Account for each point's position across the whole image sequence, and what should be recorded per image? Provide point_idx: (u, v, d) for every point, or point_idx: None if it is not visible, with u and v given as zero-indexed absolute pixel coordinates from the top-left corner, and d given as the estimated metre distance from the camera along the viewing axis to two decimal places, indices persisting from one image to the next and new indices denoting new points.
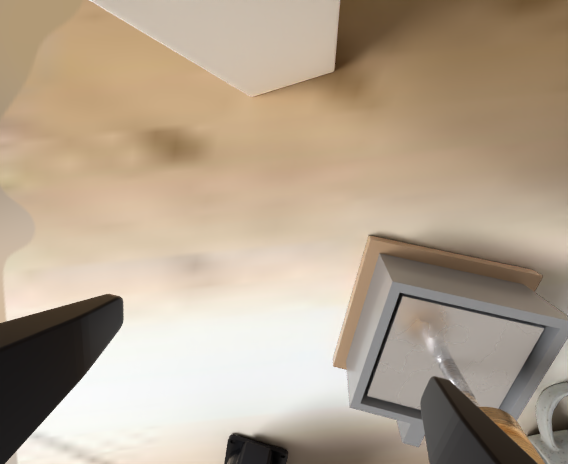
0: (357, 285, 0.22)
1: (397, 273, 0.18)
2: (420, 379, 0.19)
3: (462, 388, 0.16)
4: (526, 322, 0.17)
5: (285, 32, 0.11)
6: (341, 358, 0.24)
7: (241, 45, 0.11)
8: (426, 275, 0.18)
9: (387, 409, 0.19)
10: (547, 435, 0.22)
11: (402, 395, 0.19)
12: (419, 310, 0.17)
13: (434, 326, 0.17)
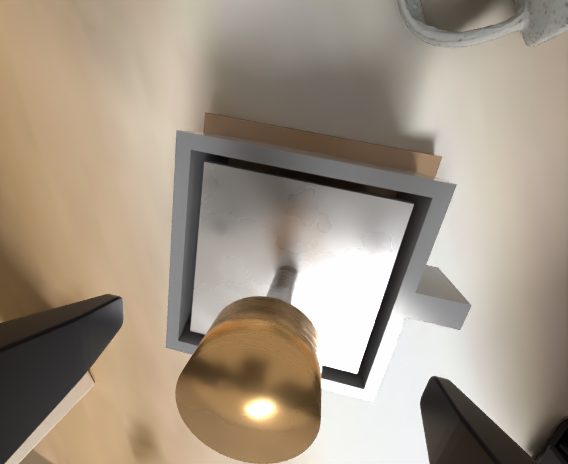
0: None
1: None
2: (317, 308, 0.12)
3: None
4: None
5: None
6: None
7: None
8: None
9: (375, 354, 0.12)
10: (495, 34, 0.11)
11: (351, 330, 0.12)
12: (205, 313, 0.13)
13: (225, 295, 0.13)
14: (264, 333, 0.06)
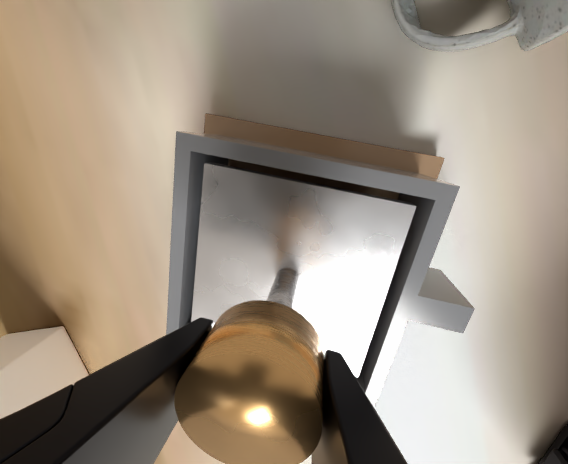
0: None
1: None
2: (318, 311, 0.12)
3: None
4: None
5: None
6: None
7: None
8: None
9: (377, 358, 0.12)
10: (489, 39, 0.11)
11: (353, 333, 0.12)
12: (205, 315, 0.13)
13: (225, 298, 0.13)
14: (265, 339, 0.06)
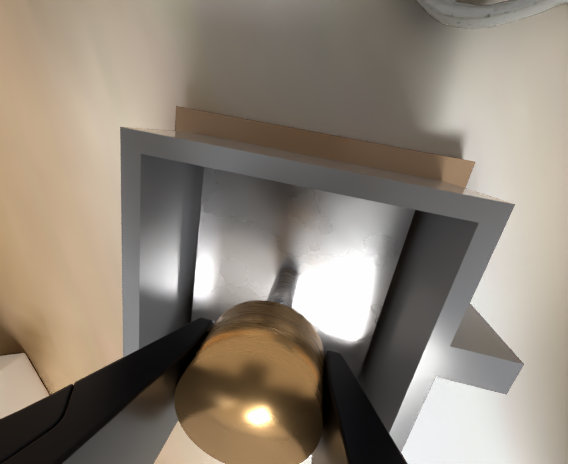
0: None
1: None
2: (318, 311, 0.12)
3: None
4: None
5: None
6: None
7: None
8: None
9: (391, 422, 0.09)
10: (537, 7, 0.08)
11: (353, 333, 0.12)
12: (205, 315, 0.13)
13: (225, 298, 0.13)
14: (264, 339, 0.06)
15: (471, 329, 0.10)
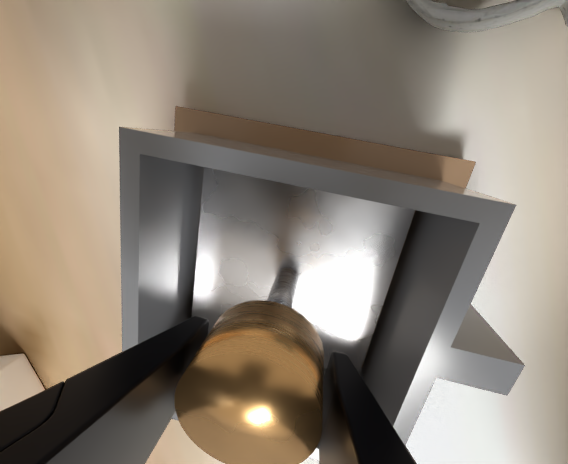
0: None
1: None
2: (318, 311, 0.12)
3: None
4: None
5: None
6: None
7: None
8: None
9: (392, 424, 0.09)
10: (527, 11, 0.08)
11: (353, 333, 0.12)
12: (205, 315, 0.13)
13: (225, 298, 0.13)
14: (265, 339, 0.06)
15: (472, 330, 0.10)
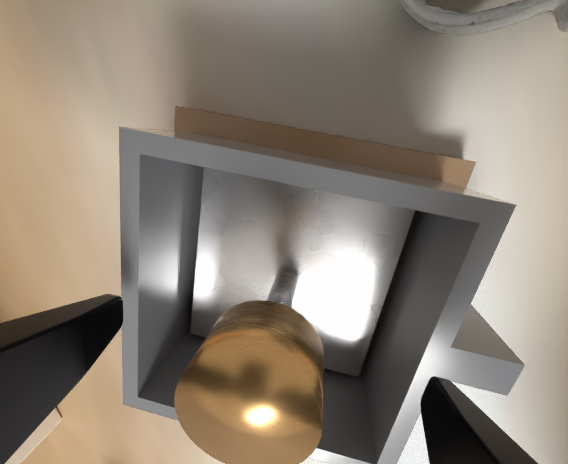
0: None
1: None
2: (318, 311, 0.12)
3: None
4: None
5: None
6: None
7: None
8: None
9: (392, 424, 0.09)
10: (519, 14, 0.08)
11: (353, 333, 0.12)
12: (205, 315, 0.13)
13: (225, 298, 0.13)
14: (265, 339, 0.06)
15: (472, 330, 0.10)
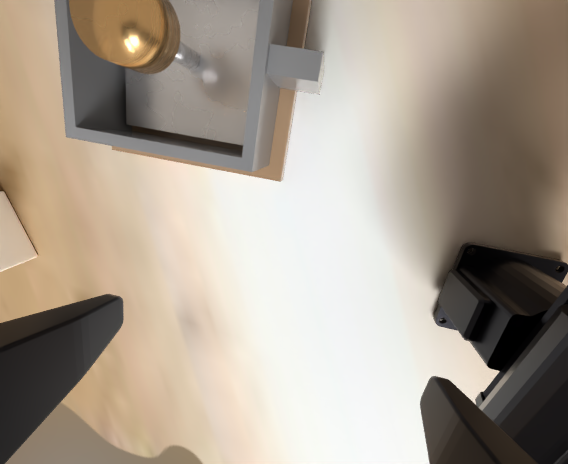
0: (165, 158, 0.19)
1: None
2: (216, 87, 0.16)
3: None
4: None
5: None
6: (266, 171, 0.18)
7: None
8: None
9: (247, 117, 0.13)
10: None
11: (243, 105, 0.16)
12: (136, 105, 0.17)
13: (149, 85, 0.17)
14: None
15: None
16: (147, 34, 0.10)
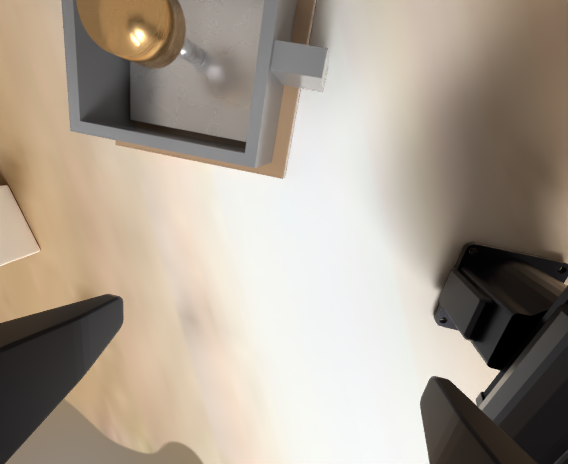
0: (168, 154, 0.19)
1: None
2: (220, 84, 0.16)
3: None
4: None
5: None
6: (269, 168, 0.18)
7: None
8: None
9: (250, 112, 0.13)
10: None
11: (247, 102, 0.16)
12: (140, 100, 0.17)
13: (154, 81, 0.17)
14: None
15: None
16: (153, 28, 0.10)
